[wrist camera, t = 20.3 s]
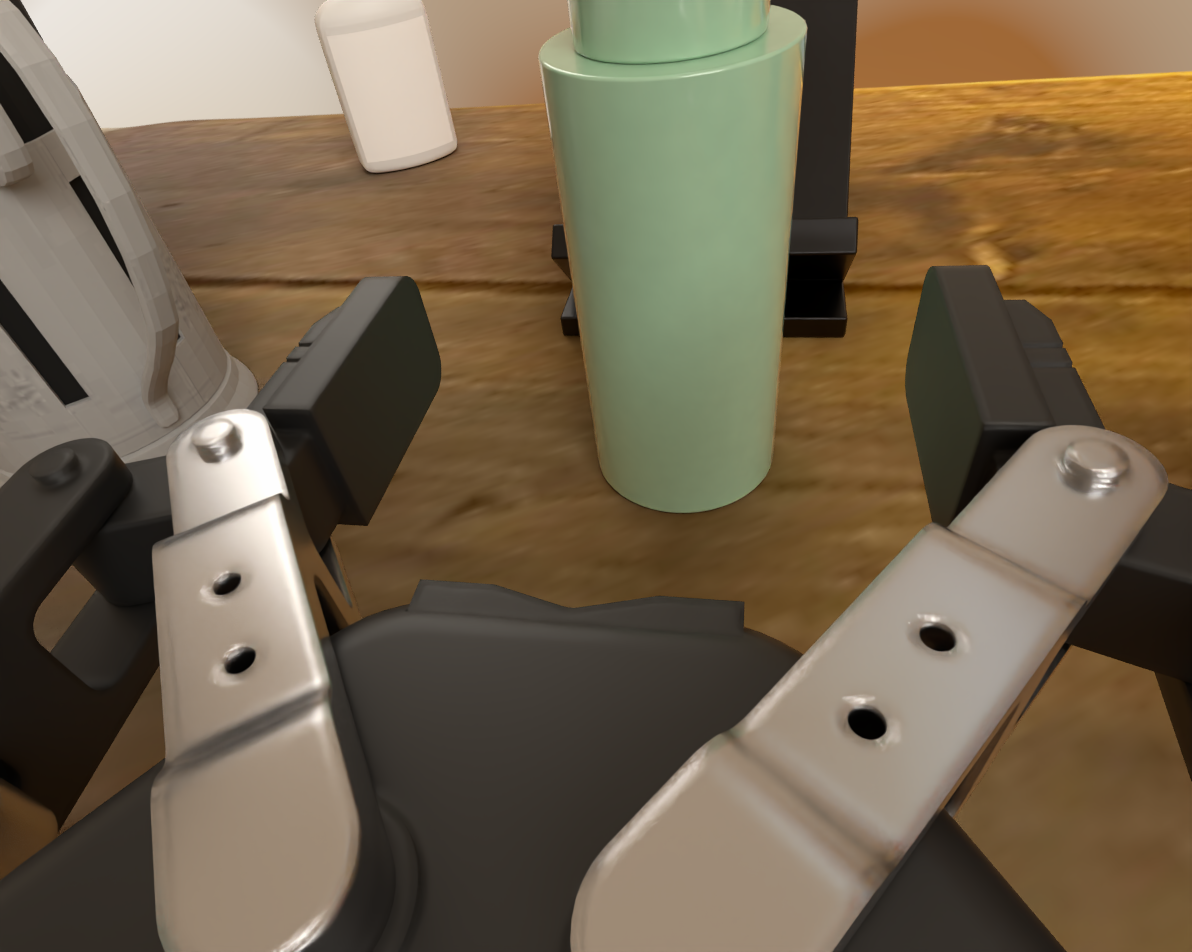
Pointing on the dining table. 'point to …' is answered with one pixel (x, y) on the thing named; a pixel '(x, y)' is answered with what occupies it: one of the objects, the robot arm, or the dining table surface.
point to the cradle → (807, 179)
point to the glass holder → (88, 283)
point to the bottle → (678, 232)
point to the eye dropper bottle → (387, 81)
